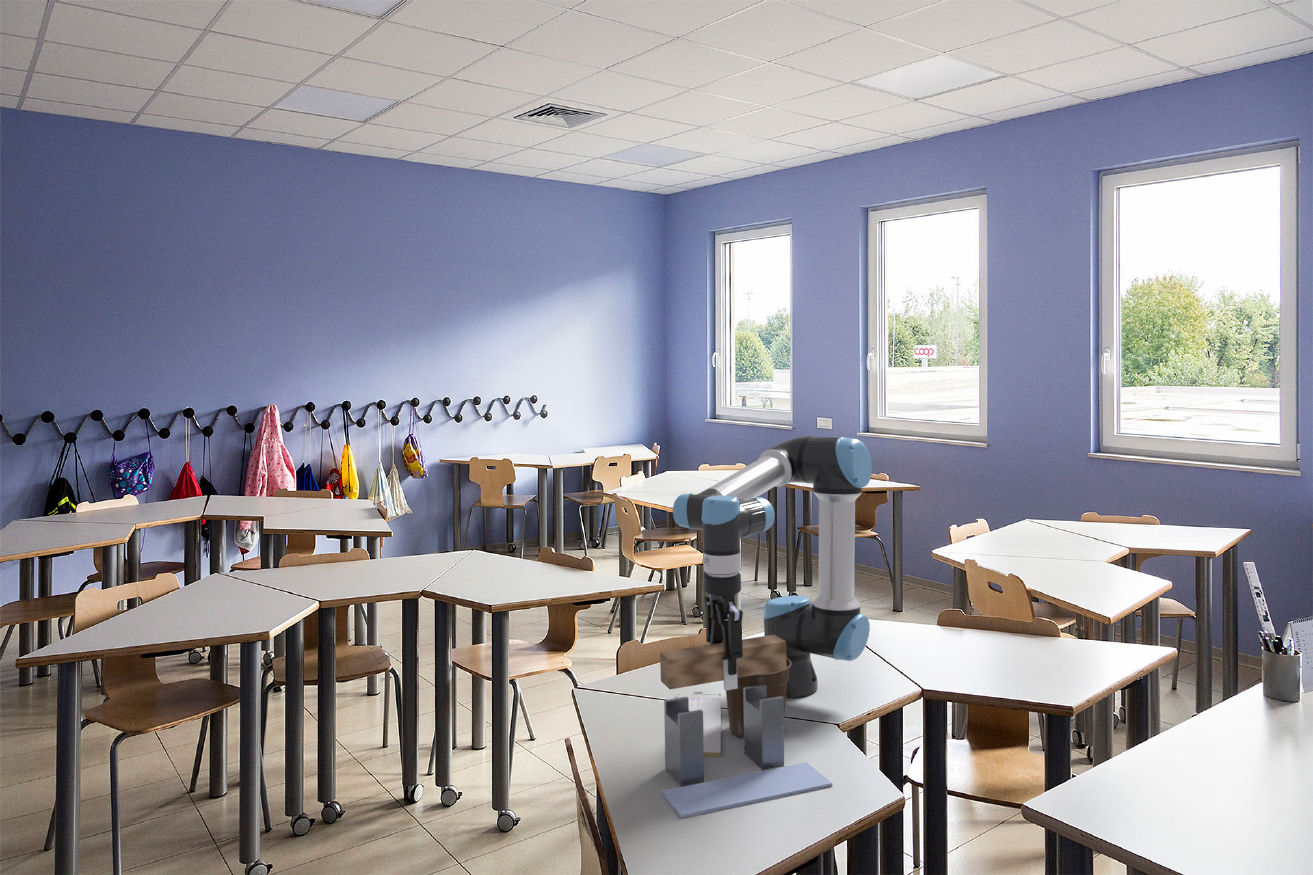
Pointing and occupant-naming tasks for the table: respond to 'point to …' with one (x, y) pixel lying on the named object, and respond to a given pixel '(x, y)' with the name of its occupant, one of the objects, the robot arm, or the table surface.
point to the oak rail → (721, 661)
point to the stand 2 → (763, 727)
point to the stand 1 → (684, 742)
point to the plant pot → (772, 680)
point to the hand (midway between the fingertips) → (724, 683)
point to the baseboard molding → (709, 722)
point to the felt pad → (744, 789)
